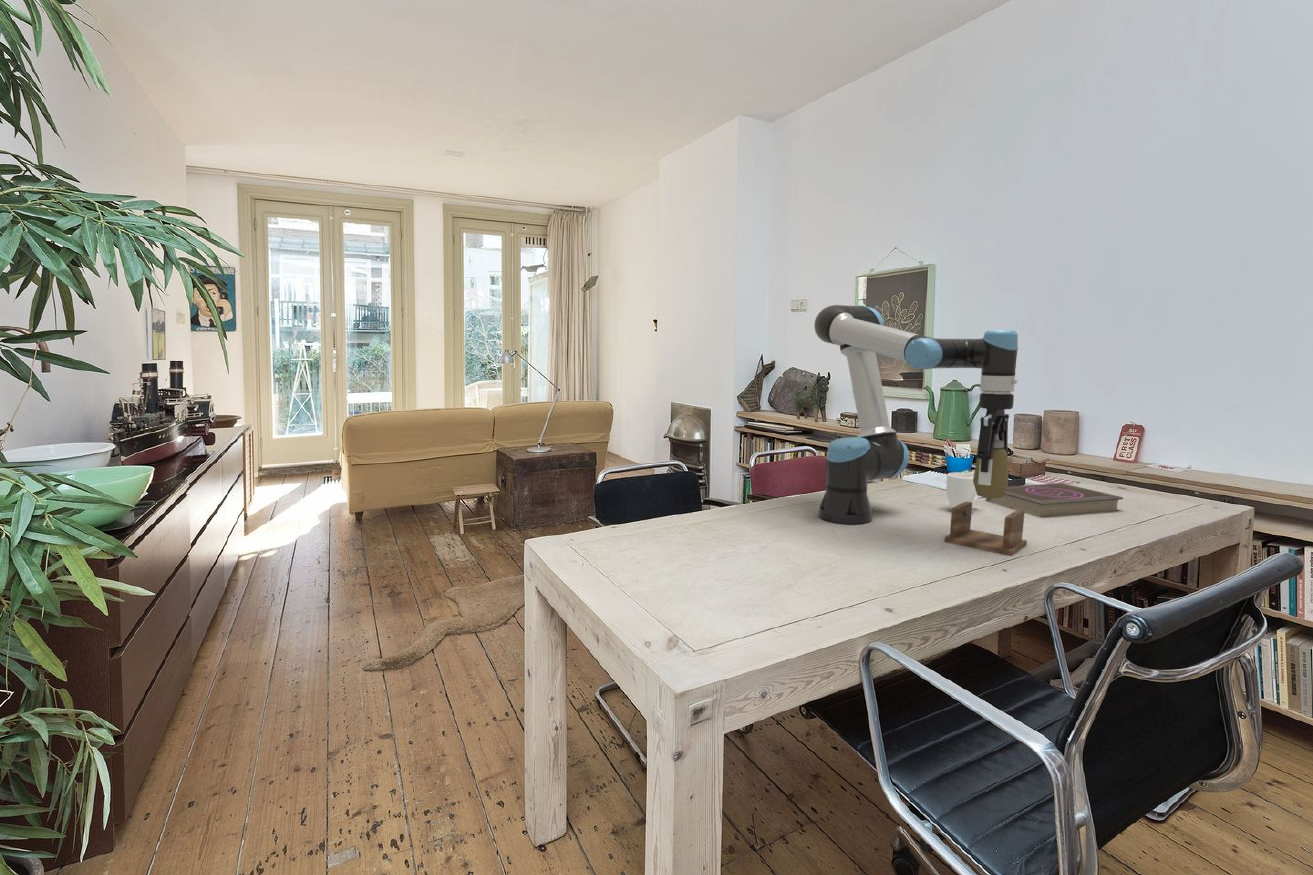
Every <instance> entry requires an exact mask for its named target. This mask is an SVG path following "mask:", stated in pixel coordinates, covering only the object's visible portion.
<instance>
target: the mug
mask: <svg viewBox="0 0 1313 875" xmlns="http://www.w3.org/2000/svg"><path fill="white" fill-rule="evenodd" d="M946 475H947V476H946V497H947V499H948V502H949V505H950V508H951V510H952V508H953V507H955V506H957V505H959V504H961V503H964V502H966V501H967V502H972V504H973V503H974V502H976V500H977V499H979V497H980V496H978V495H977V493H976V490H975V486H974V483H973V478H974V473H973V474H972V473H968V472H949V473H948V474H946Z"/></svg>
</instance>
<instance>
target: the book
mask: <svg viewBox="0 0 1313 875" xmlns="http://www.w3.org/2000/svg"><path fill="white" fill-rule="evenodd" d="M1123 499H1124V497H1123V496H1120V495H1119V496H1118V495H1114V494H1110V493H1106V492H1101V491H1098V490H1097V491H1096V490H1093V489H1089V488H1086V487H1080V486H1076V485H1072V484H1067V483H1062V482H1057V483H1043V484H1042V483H1041V484H1040V483H1039V484H1030V485H1028V484H1027V485H1013V486H1012V485H1009V486H1007V488H1006V491H1005V493H1004V495H1003V497H1001V498H985V500H986V502H988V503H992V504H995V505H998V506H1001V507H1005V508H1009V509H1011V510H1014V511H1016V510H1022V511H1024V514H1028V515H1031V516H1034V517H1037V518H1040V519H1046V518H1059V517H1067V516H1068V517H1069V516H1071V517H1072V516H1082V515H1083V516H1084V515H1095V514H1105V513H1106V514H1109V513H1119V511H1121V509H1118V502H1119V500H1120V501H1121V500H1123Z"/></svg>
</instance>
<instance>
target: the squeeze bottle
mask: <svg viewBox="0 0 1313 875" xmlns="http://www.w3.org/2000/svg"><path fill="white" fill-rule="evenodd" d="M1003 446H1004V442H1003V441H1001V440H999V435H998V434H996V437H995V442H994V447H993V452H992V456H991V459H993V462H992V476H991V485H990V486H989V485H981V484H978V480H979V466H980V459H979V458H976V461H975V468H974V473H973V475H974V478H973V483H974V486H975V490H976V494H977V495H978V496H979V497H982V498H985V499H986V498H1001V497H1003V495H1004V493H1005V491H1006V488H1007V487H1009V465H1008V455H1007V452H1008V450H1007V451H1006V450H1004V449H1002V448H1003Z"/></svg>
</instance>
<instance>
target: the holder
mask: <svg viewBox="0 0 1313 875" xmlns="http://www.w3.org/2000/svg"><path fill="white" fill-rule="evenodd" d="M972 511H973V503H972V502H967V501H966V502H964V503H961V504H959V505H957V506H955V507H953V508H952V509H951V514H950V516H951V517H950V529H949V531H950V532H949V534H948V535H946V536H945V537H944V542H945V543H950V544H954V545H959V546H963V547H964V546H965V547H969V548H974V549H979V550H983V551H989V552H993V553H996V554H997V553H998V554H1002V555H1007V556H1013V555H1015V554H1016V553H1018V552H1019V551H1021V550H1022V549H1024V548H1025V547H1026V546H1027V545H1028V540H1027V539H1023V532H1024V521H1025V520H1024V519H1025V513H1024V511H1022V510H1014V511H1013V512H1011V513H1009V514H1008V515H1005V517H1004V522H1003V523H1004V524H1003V535H1000V534H995V533H990V532H984V531H980V530H979V531H978V530H975V529H971V525H972V514H973V513H972Z"/></svg>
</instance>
